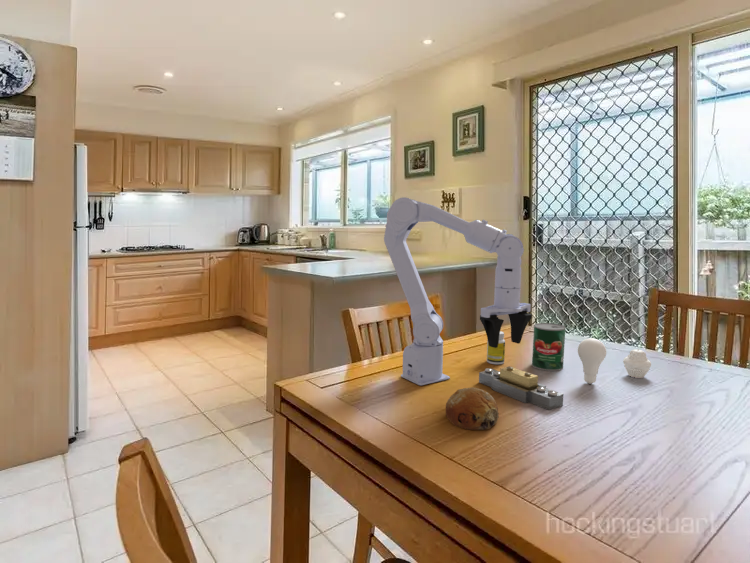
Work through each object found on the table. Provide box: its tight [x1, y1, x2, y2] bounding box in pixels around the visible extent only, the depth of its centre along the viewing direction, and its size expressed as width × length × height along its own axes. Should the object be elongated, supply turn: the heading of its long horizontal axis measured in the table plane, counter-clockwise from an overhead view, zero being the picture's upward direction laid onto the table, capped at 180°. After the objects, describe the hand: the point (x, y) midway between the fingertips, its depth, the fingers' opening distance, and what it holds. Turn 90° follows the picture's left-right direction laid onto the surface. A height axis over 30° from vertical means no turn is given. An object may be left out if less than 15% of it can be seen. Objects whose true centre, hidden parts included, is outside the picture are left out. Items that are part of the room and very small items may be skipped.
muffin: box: [622, 348, 652, 379], centre depth 114 cm, size 6×6×7 cm
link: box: [499, 366, 539, 391], centre depth 103 cm, size 3×8×5 cm, turn 33°
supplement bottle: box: [486, 330, 506, 365], centre depth 125 cm, size 5×5×8 cm
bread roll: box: [445, 387, 500, 431], centre depth 89 cm, size 10×10×8 cm
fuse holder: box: [478, 367, 564, 411], centre depth 103 cm, size 7×20×3 cm, turn 33°
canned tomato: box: [531, 322, 567, 372], centre depth 122 cm, size 8×8×11 cm
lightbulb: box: [577, 337, 607, 385], centre depth 109 cm, size 6×6×11 cm
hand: (504, 344), depth 107 cm, fingers open, 7 cm apart
